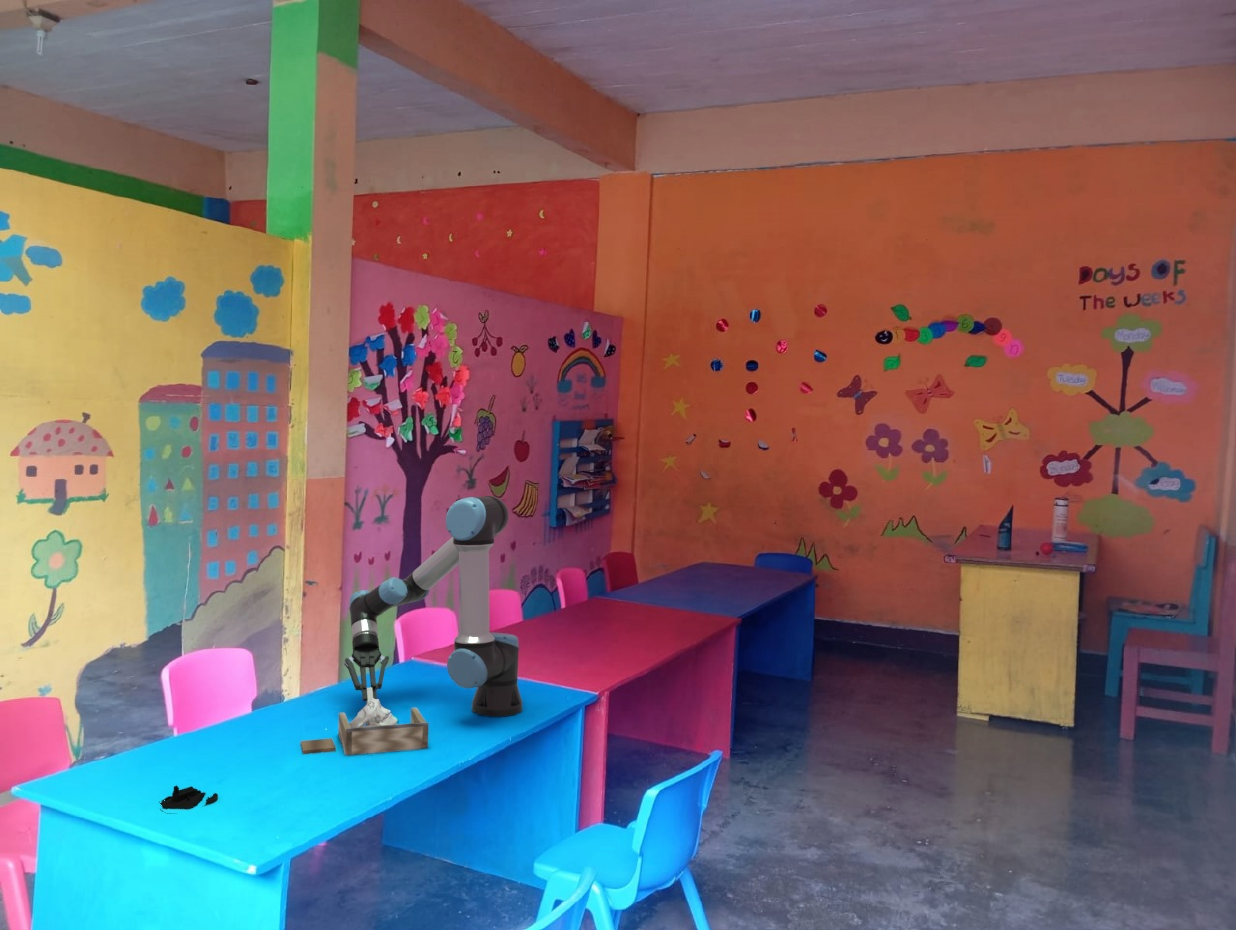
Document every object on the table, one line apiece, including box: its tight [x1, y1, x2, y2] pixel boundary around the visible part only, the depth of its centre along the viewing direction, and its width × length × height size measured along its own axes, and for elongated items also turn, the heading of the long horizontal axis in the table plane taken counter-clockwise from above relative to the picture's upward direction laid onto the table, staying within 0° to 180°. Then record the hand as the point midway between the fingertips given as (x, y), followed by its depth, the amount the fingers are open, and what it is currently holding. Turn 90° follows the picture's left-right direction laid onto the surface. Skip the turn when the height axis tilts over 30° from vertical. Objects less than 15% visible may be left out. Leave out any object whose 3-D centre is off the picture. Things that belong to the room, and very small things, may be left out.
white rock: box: [349, 698, 400, 728], centre depth 273 cm, size 12×9×10 cm
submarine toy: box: [159, 785, 219, 815], centre depth 218 cm, size 12×10×5 cm
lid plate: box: [300, 738, 337, 755], centre depth 258 cm, size 8×8×2 cm
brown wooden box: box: [337, 707, 429, 756], centre depth 265 cm, size 21×18×7 cm
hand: (370, 710), depth 279 cm, fingers closed
